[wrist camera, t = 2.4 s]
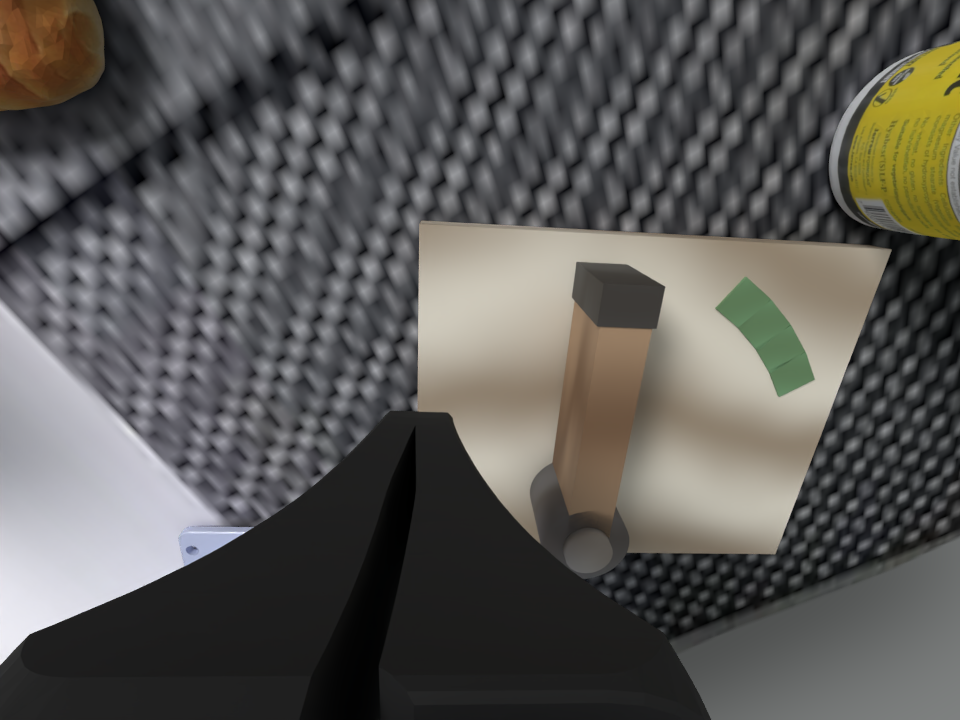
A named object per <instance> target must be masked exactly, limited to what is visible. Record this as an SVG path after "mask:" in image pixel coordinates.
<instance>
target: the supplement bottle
mask: <svg viewBox="0 0 960 720" xmlns="http://www.w3.org/2000/svg"><path fill="white" fill-rule="evenodd" d="M829 178H830V184H831V189H832V192H833V195H834V197H835V199H836V201H837V202H838V204H839V205H840V207H841V208H842V209H843V210H844V211H845V212H846V213H847V214H848V215H849V216H850V217H852V218H853V219H855V220H856V221H858V222H860V223H862V224H865V225H868V226H871V227H875V228H879V229H884V230H891V231H898V232H904V233H910V234H917V235H925V236H931V237H939V238H947V239H954V240H960V41H957V42H954V43H950V44H946V45H942V46H939V47H935V48H931V49H928V50H925V51H921V52H918V53H916V54H913V55H910V56H908V57H906V58H904V59H902V60H900V61H898V62H896V63H894V64H893V65H891V66H889V67H888V68H886V69H885V70H884V71H882V72H881V73H880V74H878V75H877V76H876V77H875V78H874V79H873V80H871V81H870V82H869V83H868V84H867V85H866V86H865V87H864V88H863V89H862V90H861V91H860V93H859V94H858V95H857V96H856V97H855V99H854V100H853V101H852V103H851V104H850V105H849V107H848V108H847V110H846V112H845V113H844V115H843V117H842V119H841V121H840V123H839V125H838V127H837V130H836V132H835V135H834V138H833V142H832V146H831V151H830V157H829Z"/></svg>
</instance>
